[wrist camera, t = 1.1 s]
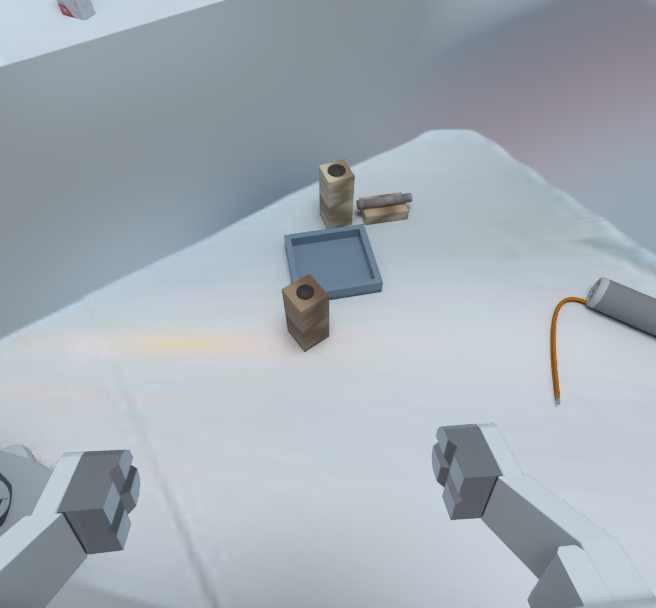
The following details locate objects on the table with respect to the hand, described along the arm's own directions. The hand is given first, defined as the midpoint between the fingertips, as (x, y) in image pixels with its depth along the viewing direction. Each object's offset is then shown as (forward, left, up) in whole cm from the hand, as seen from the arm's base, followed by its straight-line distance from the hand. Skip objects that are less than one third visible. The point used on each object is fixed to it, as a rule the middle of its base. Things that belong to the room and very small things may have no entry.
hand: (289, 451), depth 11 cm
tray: (+10, +41, -45) cm, 62 cm away
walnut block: (+4, +29, -45) cm, 54 cm away
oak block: (+13, +52, -45) cm, 70 cm away
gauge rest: (+22, +52, -45) cm, 72 cm away
